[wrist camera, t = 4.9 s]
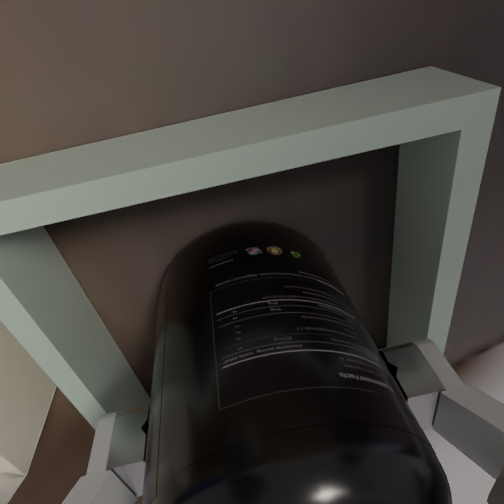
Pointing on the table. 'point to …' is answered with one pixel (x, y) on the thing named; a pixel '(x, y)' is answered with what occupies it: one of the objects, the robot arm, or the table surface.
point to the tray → (235, 169)
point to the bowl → (19, 411)
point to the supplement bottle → (275, 385)
